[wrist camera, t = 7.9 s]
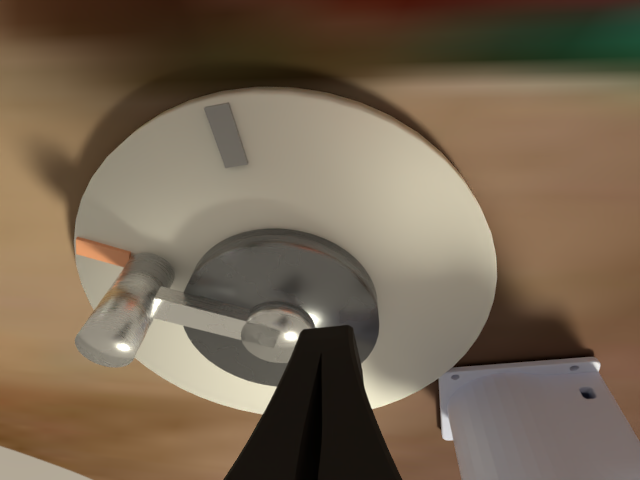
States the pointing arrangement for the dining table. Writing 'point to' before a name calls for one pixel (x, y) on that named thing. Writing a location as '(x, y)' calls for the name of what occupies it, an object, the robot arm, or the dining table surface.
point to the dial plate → (296, 224)
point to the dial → (238, 303)
